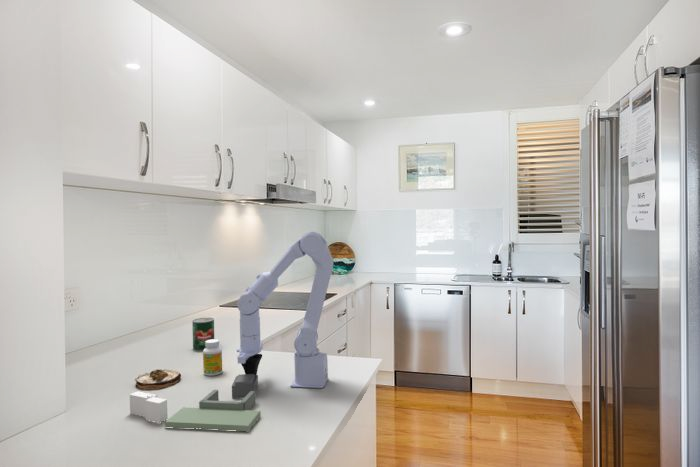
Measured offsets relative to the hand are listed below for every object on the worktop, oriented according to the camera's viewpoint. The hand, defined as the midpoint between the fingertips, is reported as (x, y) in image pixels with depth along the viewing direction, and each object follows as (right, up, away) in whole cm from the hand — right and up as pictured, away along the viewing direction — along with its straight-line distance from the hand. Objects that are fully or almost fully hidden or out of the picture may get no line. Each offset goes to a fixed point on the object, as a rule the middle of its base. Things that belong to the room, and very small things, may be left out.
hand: (251, 380), depth 129 cm
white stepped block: (-21, -3, -21) cm, 29 cm away
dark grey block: (0, -2, -6) cm, 6 cm away
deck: (-3, -2, -20) cm, 20 cm away
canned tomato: (-27, -1, +39) cm, 47 cm away
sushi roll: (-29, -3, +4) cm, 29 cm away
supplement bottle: (-15, -2, +11) cm, 18 cm away
